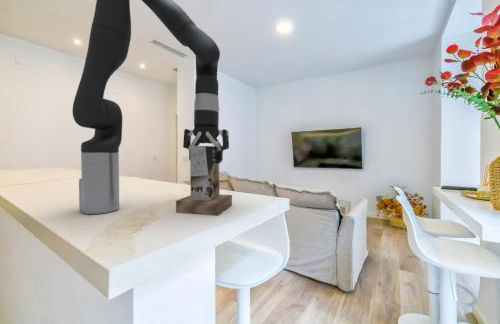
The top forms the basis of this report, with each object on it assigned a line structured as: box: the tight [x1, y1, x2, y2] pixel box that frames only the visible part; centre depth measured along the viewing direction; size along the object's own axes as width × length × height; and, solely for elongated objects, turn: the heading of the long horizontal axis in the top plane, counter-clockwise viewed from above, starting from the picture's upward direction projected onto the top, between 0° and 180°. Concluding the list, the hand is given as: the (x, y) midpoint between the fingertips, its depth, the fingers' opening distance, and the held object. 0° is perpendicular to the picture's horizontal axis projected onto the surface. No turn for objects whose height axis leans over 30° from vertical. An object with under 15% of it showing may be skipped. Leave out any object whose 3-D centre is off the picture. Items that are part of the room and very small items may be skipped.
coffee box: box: [189, 145, 220, 201], centre depth 69 cm, size 9×6×16 cm
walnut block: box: [175, 193, 233, 217], centre depth 70 cm, size 13×13×4 cm
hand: (205, 162), depth 69 cm, fingers open, 8 cm apart
